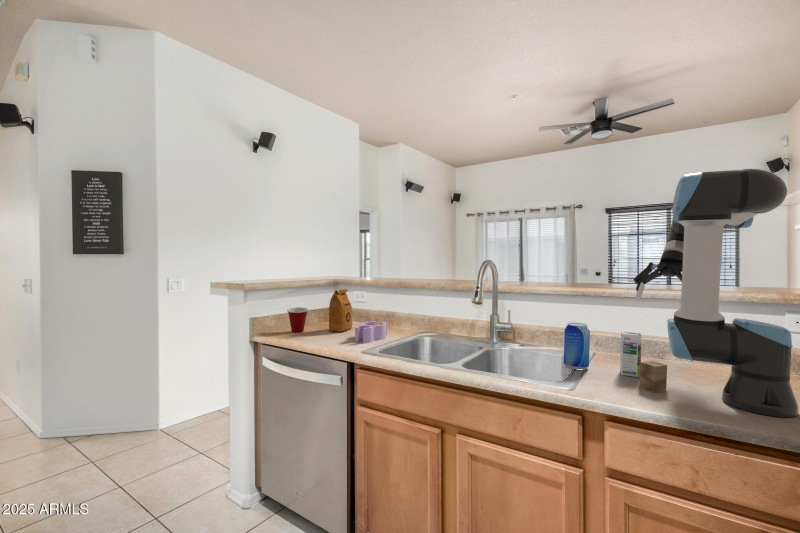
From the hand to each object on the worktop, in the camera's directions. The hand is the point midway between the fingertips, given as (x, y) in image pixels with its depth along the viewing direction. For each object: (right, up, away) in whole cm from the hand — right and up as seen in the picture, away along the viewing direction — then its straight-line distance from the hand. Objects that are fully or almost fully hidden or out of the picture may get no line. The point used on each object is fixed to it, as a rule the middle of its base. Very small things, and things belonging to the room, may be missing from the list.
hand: (658, 301), depth 136 cm
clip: (-108, -23, +46) cm, 119 cm away
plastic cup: (-147, -21, +59) cm, 160 cm away
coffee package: (-125, -22, +64) cm, 142 cm away
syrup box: (-14, -25, -6) cm, 29 cm away
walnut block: (-16, -25, -20) cm, 36 cm away
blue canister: (-29, -25, +2) cm, 38 cm away
